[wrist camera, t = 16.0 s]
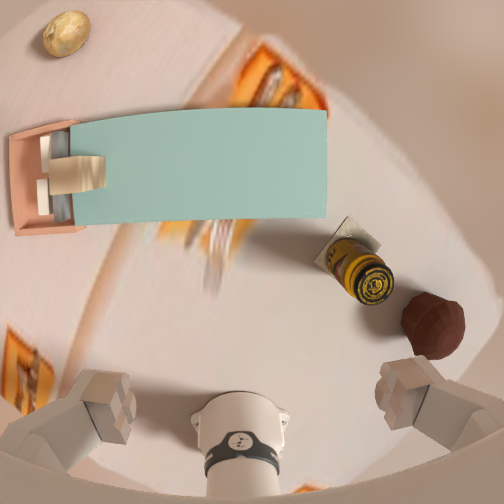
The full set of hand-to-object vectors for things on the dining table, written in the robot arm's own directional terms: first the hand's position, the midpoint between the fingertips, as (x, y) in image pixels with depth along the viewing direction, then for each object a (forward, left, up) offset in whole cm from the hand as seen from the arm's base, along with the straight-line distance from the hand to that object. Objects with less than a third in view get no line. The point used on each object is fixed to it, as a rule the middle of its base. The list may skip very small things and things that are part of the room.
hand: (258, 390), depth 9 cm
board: (+7, +6, -35) cm, 36 cm away
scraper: (+7, +21, -31) cm, 38 cm away
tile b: (+11, +25, -32) cm, 42 cm away
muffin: (-18, -32, -35) cm, 51 cm away
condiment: (-6, -16, -35) cm, 39 cm away
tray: (+7, +29, -35) cm, 46 cm away
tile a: (+4, +26, -32) cm, 42 cm away
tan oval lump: (+30, +26, -35) cm, 53 cm away
